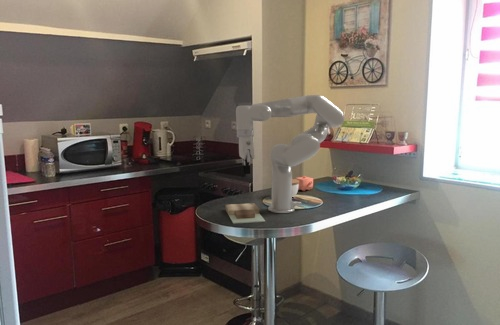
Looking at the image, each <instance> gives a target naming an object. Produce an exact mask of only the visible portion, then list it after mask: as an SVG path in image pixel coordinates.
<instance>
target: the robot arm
mask: <svg viewBox="0 0 500 325" xmlns="http://www.w3.org/2000/svg"><path fill="white" fill-rule="evenodd" d="M307 114H308V115H309V114H316V115H315V119H314V124H313V126H312V127H310V128H308V129H307V130H305V131H303V132H301V133H299V134H297V135H295V136H294V137H293V138H292V139H291V141H290V143H289V144H285V143H278V144H275V145H274V146H273V147H272V148H271V150H270V152H269V154H270V155H269V159H270V163H271V205H269V206H268V207H267V208H268V211H270V212H271V213H275V214H289V213H293V212H295V211H296V209H295V208H296V207H302V204H303V203H302V201H297V200H296V201H293V198H292V179H293V170H292V168H293V167H296V166H298V165H301V164H302V163H304V162H306V161H308V160H309V159H311V158H313V157H315V156H316V155H317V154H318V152H319V151H320V148H321V143H322V142H324V140H326V139H327V136H328V132H329V129H330V128H339V127H341V126H342V125H343V124H344V122H345V115H344V112H343V111H342V110H341V109H340V108H339V107H338V106H336V105H335V104H334V103H333V102H331V101H330V100H328V98H326V97H325V96H323V95H321V94H307V95H301V96H297V97H290V98H289V97H288V98H284V99H278V100H273V101H266V102H259V103H253V104H251V105H246V104H245V105H238V106H236V107H235V118H236V119H235V120H236V137H237V138H238V155H239V157H240V158H241V164H242V174H243V175H250V174H251V159H253V160H254V159H255V148H254V139H253V137H254V122H266V121H268V120H269V119H271V118H292V117H297V116H302V115H307Z"/></svg>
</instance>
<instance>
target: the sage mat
mask: <svg viewBox="0 0 500 325" xmlns="http://www.w3.org/2000/svg"><path fill="white" fill-rule="evenodd" d="M228 216H229V218H230V220H231V222H232V224H233V225H235V224H248V223H249V224H250V223H262V222H263V223H265V222H266V220H265V218H264V217H263V216H262V215H261V214H260V213H259V214H255V218H244V219H237V218H236V216H235V215H228Z"/></svg>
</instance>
